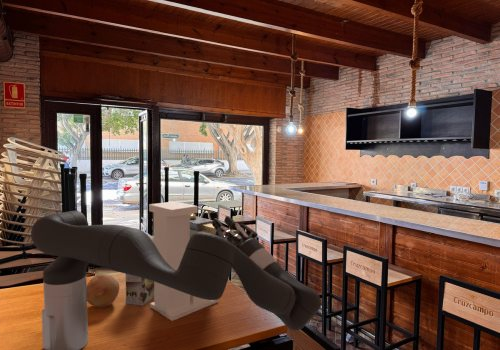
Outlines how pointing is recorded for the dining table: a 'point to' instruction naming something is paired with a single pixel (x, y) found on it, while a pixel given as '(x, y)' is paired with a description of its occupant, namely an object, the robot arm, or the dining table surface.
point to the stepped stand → (174, 257)
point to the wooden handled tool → (203, 225)
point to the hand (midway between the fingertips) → (220, 219)
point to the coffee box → (138, 290)
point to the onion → (102, 290)
